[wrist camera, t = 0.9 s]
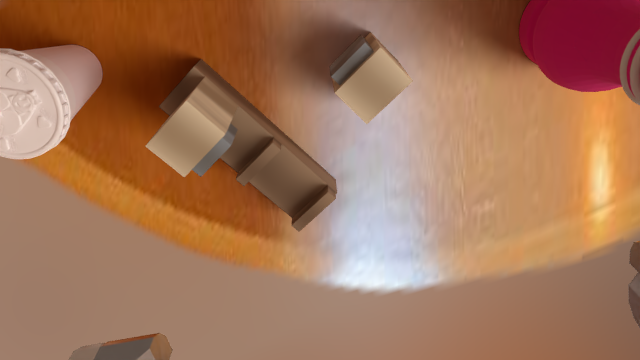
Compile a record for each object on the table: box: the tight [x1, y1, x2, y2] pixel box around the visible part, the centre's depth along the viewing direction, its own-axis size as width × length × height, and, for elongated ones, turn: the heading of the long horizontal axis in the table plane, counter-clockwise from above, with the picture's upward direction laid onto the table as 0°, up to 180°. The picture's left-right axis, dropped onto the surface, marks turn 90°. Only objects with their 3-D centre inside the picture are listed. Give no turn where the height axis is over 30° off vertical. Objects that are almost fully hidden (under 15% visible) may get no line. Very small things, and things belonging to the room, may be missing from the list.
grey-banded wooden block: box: [330, 32, 412, 124], centre depth 35 cm, size 4×4×6 cm
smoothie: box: [0, 45, 103, 159], centre depth 31 cm, size 6×6×14 cm
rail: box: [146, 59, 337, 231], centre depth 36 cm, size 4×14×8 cm, turn 46°
